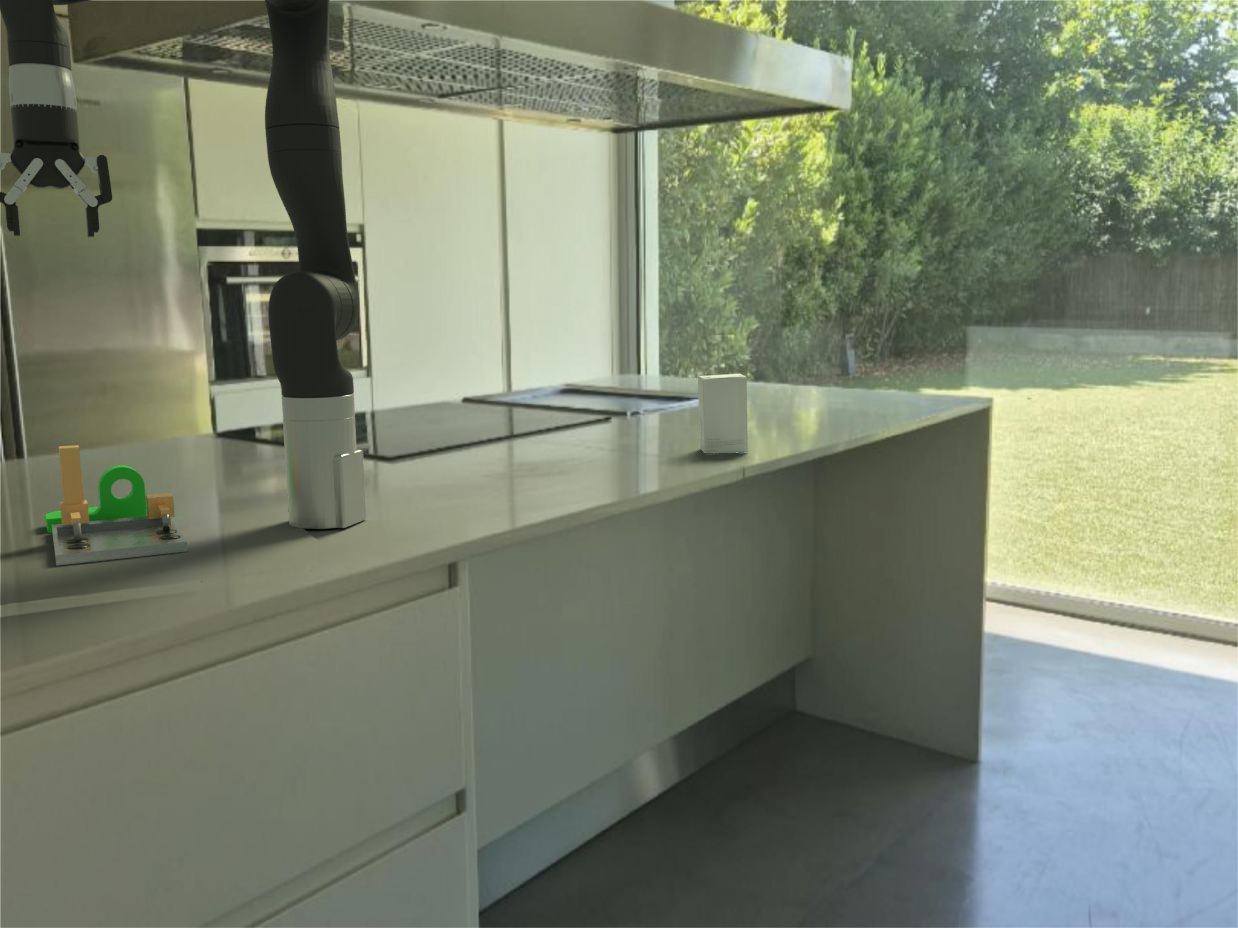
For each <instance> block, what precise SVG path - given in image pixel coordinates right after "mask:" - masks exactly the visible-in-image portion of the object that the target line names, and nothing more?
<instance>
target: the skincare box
mask: <svg viewBox="0 0 1238 928" xmlns="http://www.w3.org/2000/svg"><path fill="white" fill-rule="evenodd" d="M697 384H698V386H697V387H698V390H697V391H698V393H697V394H698V395H697V396H698V421H699V450H700V449H701V450H702V451H703V452H705V453H714V454H713V455H716V454H715V453H736V452H748V453H749V443H748V442H749V437H748V436H749V433H748V432H749V431H748V391H747V390H748V387H747V386H748V376H745V375H744V374H741V373H729V374H727V373H726V374H714V375H713V374H712V375H698V376H697ZM701 450H700V451H701ZM702 451H701V452H702ZM703 452H702V453H703Z"/></svg>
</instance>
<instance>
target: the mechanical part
mask: <svg viewBox="0 0 1238 928" xmlns="http://www.w3.org/2000/svg"><path fill="white" fill-rule="evenodd" d="M119 480H126V481H128V482H130V484H131V491H130V492H129V493H128V494H127V495H126V496H124V497H123V496H122V497H118V496H115V495H114V494H113V493H112V487H113V485H114V484H115V483H116V482H117V481H119ZM97 486H98V487H97V488H98V500H99V503H98V504H99V505H98V506H92V507H89V506H88V514H89V521H94V520H105V519H115V518H126V517H137V516H147V505H146V487H145V486H146V485H145V482H144V479H143V477H142V476H141V475H140V473H139V472H138V471H137V470H136V469H134V468H132V467H131V466H129V465H125V464H124V465H123V464H118V465H114V466H111V467H109V468H107V469H106V470H105V471H104V472H103V473H102V474H101V475H100V477H99V480H98V485H97ZM52 524H62V520H61V509H60V510H55V511H52V512H48V513H46V514H45V527H46V530H47V531H46V532H47V533H48V534H50V533H52Z"/></svg>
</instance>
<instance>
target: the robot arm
mask: <svg viewBox="0 0 1238 928" xmlns="http://www.w3.org/2000/svg"><path fill="white" fill-rule="evenodd" d="M90 1H92V0H0V14H1V17H2V19H3V22H4V26H5V28H6V38H7V41H6V42H7V54H8V55H7V56H8V66H9V67H8V68H9V72H8V73H9V76H8V92H9V95H8V100H9V104H10V105H9V106H10V116H11V118H10V119H11V128H12V142H13V149H12V152H11V153H9V152H1V151H0V171H2V170H4V169H5V168H6V164H7V163H9V162H11V164H12V165H13V166H14V168H15V169H16V170H17V171H18V172H19V174H21V175H20V177H19V178H17V180H16V181H15V182H14V184H13V185H12V187H11V188H10V189H9V191H8V192H7V193H5V192H2V191H0V204H2V205H3V206H4V208H5V220H6V221H5V222H6V229H7V230H8V232H13V236H14V237H21V229H20V219H19V218H20V217H19V216H20V215H19V206H18V205H17V204H16V203H17V202H18V200H19V198H20V197H21V196H22V195H23V194H24V192H25V191H26V190H27V188H28V187H29V186H30V185H31V187H33V188H36V189H46V188H47V189H48V188H52V189H56V190H64V189H67V188H68V187H70V189H72V191H73V192H74V193H75V194H76V195H77V196H78V197H79V198H80V199H81V200H82V201H83V203H84V204H85V205H86V207H85V220H86V221H85V224H86V233H87V235H86V236H87V238H94V237H95V234H98V233H99V231H100V219H99V217H100V216H99V208H100V207H101V206H103V205H106V204H109V203H111V201H112V200H113V192H112V186H111V178H110V171H109V170H110V169H109V164H108V163H109V161H108V158H107V156H105V155H103V154H100V155H98V156H84V155H83V154H82V151H81V149H80V136H79V124H78V109H77V106H78V100H77V96H76V88H75V84H74V78H73V72H72V59H71V45H70V40H69V39H70V38H69V33H68V31H67V29H66V28H65V26H64V25H63V23H62V22H61V21H60V20H59V18H58V17H57V14H56V11H55V7H54V6H68V5H74V4H79V3H85V2H86V3H87V2H90ZM264 1H265V2H264V3H265V6H266V7H265V8H266V12H267V15H268V16H267V17H268V22H269V30H270V37H271V46H272V48H271V49H272V61H271V70H270V76H269V81H268V86H267V92H266V99H265V105H264V106H265V107H264V108H265V110H264V129H265V140H266V141H265V142H266V152H267V153H266V154H267V160H268V166H269V171H270V175H271V178H272V181H273V183H274V184H273V185H274V186H275V188H276V191H277V193H278V195H279V198H280V200H281V202H282V205H283V207H284V209H285V211H286V213H287V215H288V217H289V220H290V222H291V225H292V229H293V232H294V235H295V240H296V246H297V256H298V258H297V259H298V271H292V272H290V273H287V274H285V275H283V276H281V277H280V278H279V279H278V280H277V281H276V282H275V284H274V286H273V287H272V290H271V292H270V294H269V295H270V296H269V299H268V300H269V301H268V309H267V310H268V311H267V312H268V328H269V330H268V331H269V337H270V338H269V339H270V346H271V356H272V365H273V370H274V373H275V375H276V378H277V379H278V381H279V383H280V391H281V408H282V409H281V410H282V423H283V424H282V425H283V428H282V429H283V444H284V458H285V462H284V463H285V478H286V479H285V480H286V496H287V513H288V524H289V526H290V527H294V528H299V529H304V530H306V529H307V530H325V529H336V528H337V529H345V528H347V527H348V528H349V527H350V526H353V525H355V524H358V523H360V522H362V521H364V520H367V511H366V510H367V509H366V508H367V507H366V505H367V504H366V489H365V487H366V486H365V485H366V484H365V466H364V465H365V464H364V451H363V450H362V449H357V433H356V431H357V430H356V412H355V411H356V409H355V394H354V393H355V390H354V389H355V388H354V376H353V374H352V373H351V372H350V371H349V370H348V369H347V368H346V367H344V365H343V364H342V362H341V361H340V358H339V351H338V342H337V341H339V340H342V339H344V338H346V337H347V336H348V335H349V334H351V332H352V331H353V329H354V328H355V326H356V324H357V322H358V318H359V314H360V298H359V291H358V284H357V281H356V280H357V279H356V275H355V269H354V264H353V259H352V258H353V257H352V253H351V248H350V242H349V234H348V228H347V227H348V225H347V214H346V213H347V210H346V209H347V208H346V200H345V199H346V198H345V189H344V180H343V179H344V178H343V161H342V160H343V159H342V145H341V144H342V143H341V142H342V141H341V132H340V131H341V130H340V122H339V121H340V120H339V115H338V106H337V97H336V96H337V95H336V90H335V88H336V87H335V83H334V75H333V68H332V61H331V53H330V1H331V0H264ZM85 166H88V168H89V169H90V171H91V172H92V173H93V174H96V175H97V179H98V186H99V195H96V196H94V194H93V193H92V192H91V191H90V190H89V189H88V188H87V186H86V185H85V184H84V183H83V181H82V180H81V178H79V177H78V175H79V174H80V172H81V171H82V170H83V168H84V167H85Z"/></svg>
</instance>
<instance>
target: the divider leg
mask: <svg viewBox="0 0 1238 928" xmlns="http://www.w3.org/2000/svg"><path fill="white" fill-rule="evenodd" d="M58 454H59V466H60V477H61V486H62V487H61V489H62V490H61V491H62V499H63V501H61V502H59V508H60V510H61V520H62V525H69V524H72V525H73V529H74V540H82V535H81V523H89V514H88V508H89V505H88V501H87V499H84V489H83V487H84V486H83V475H82V467H81V465H82V464H81V454H80V446H79V445H78V444H77V445H76V444H75V445H63V446H62V445H61V446H58Z"/></svg>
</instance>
